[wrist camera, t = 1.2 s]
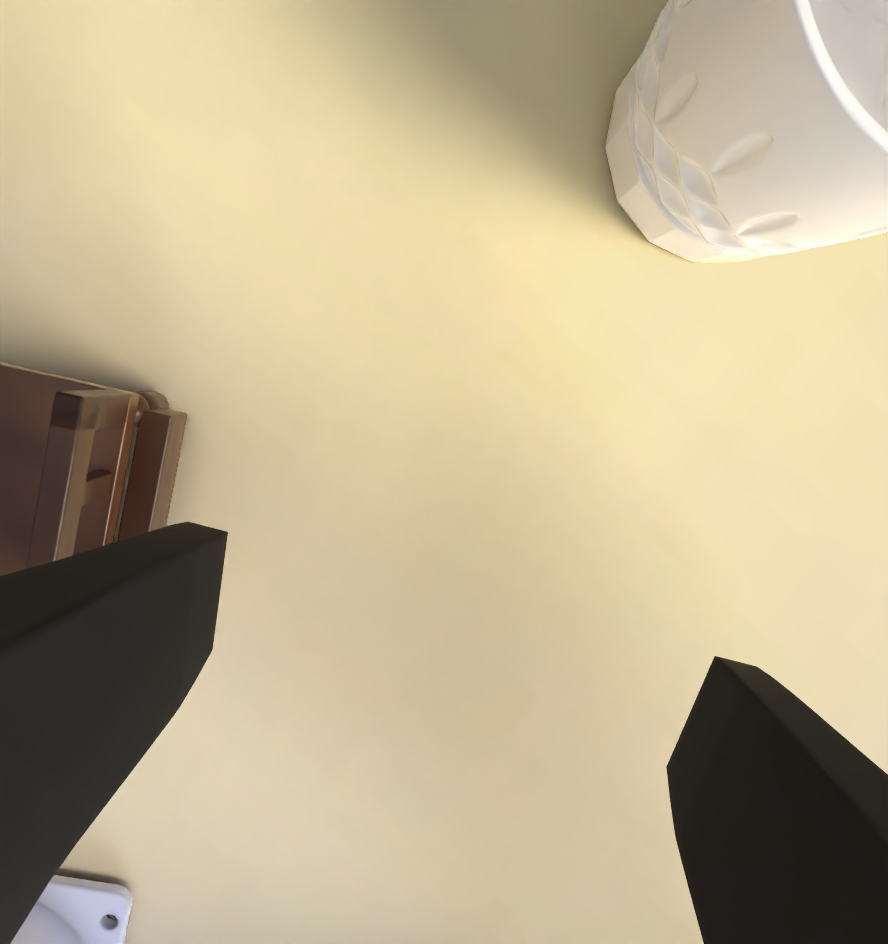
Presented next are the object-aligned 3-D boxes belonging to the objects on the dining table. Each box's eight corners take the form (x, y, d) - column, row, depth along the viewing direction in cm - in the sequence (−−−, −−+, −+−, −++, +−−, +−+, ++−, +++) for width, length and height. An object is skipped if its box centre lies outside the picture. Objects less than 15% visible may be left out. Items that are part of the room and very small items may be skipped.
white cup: (528, 127, 19) (675, -138, 9) (739, -62, 19) (1119, -542, 9) (694, 340, 20) (980, 303, 11) (895, 164, 20) (1379, -42, 10)
